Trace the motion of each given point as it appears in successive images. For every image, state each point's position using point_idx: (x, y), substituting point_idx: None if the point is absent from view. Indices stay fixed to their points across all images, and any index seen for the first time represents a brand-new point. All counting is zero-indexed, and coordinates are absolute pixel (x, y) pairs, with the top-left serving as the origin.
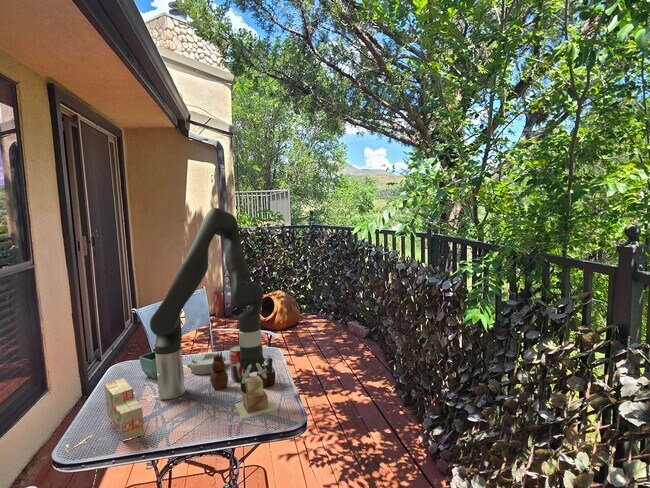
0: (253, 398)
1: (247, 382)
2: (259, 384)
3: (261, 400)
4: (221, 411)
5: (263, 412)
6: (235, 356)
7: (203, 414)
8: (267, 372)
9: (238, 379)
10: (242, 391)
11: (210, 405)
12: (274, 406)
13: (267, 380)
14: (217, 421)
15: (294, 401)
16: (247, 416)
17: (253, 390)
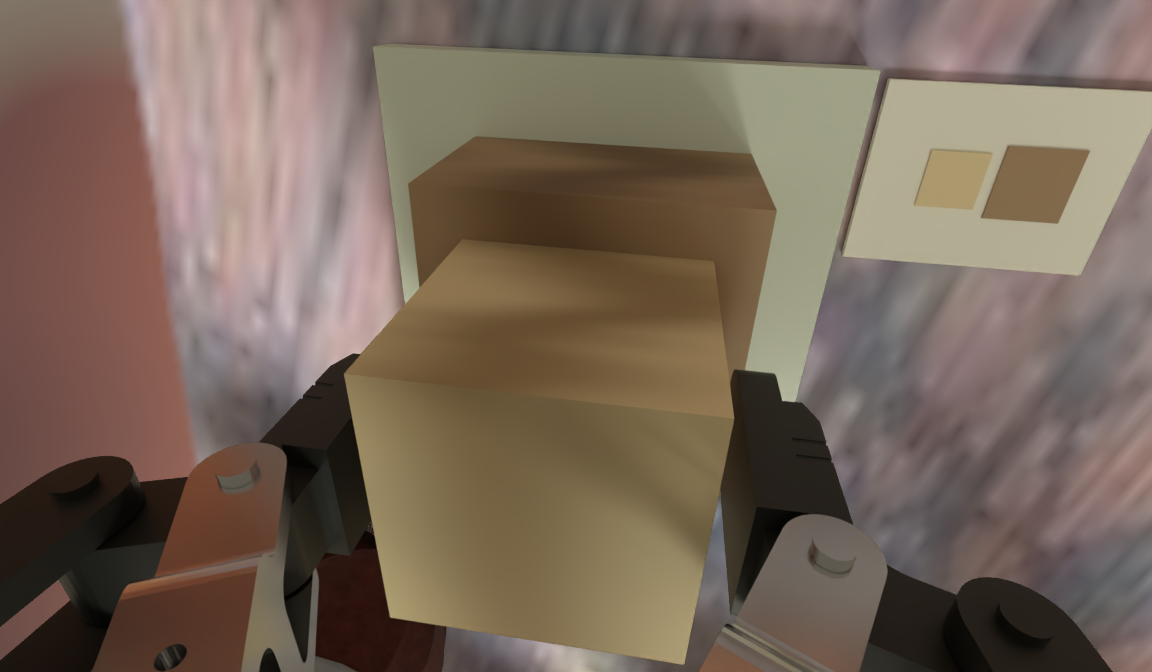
0: (645, 228)
1: (698, 511)
2: (451, 346)
3: (528, 174)
4: (937, 428)
5: (559, 64)
6: None
7: (1123, 477)
8: (120, 556)
9: (1009, 664)
10: (803, 412)
11: (957, 577)
12: (392, 141)
13: (349, 591)
14: (1109, 254)
15: (171, 181)
16: (787, 83)
17: (614, 311)
